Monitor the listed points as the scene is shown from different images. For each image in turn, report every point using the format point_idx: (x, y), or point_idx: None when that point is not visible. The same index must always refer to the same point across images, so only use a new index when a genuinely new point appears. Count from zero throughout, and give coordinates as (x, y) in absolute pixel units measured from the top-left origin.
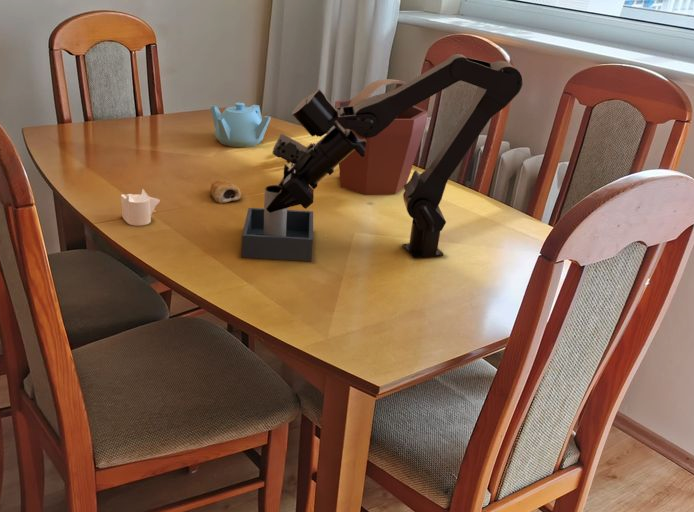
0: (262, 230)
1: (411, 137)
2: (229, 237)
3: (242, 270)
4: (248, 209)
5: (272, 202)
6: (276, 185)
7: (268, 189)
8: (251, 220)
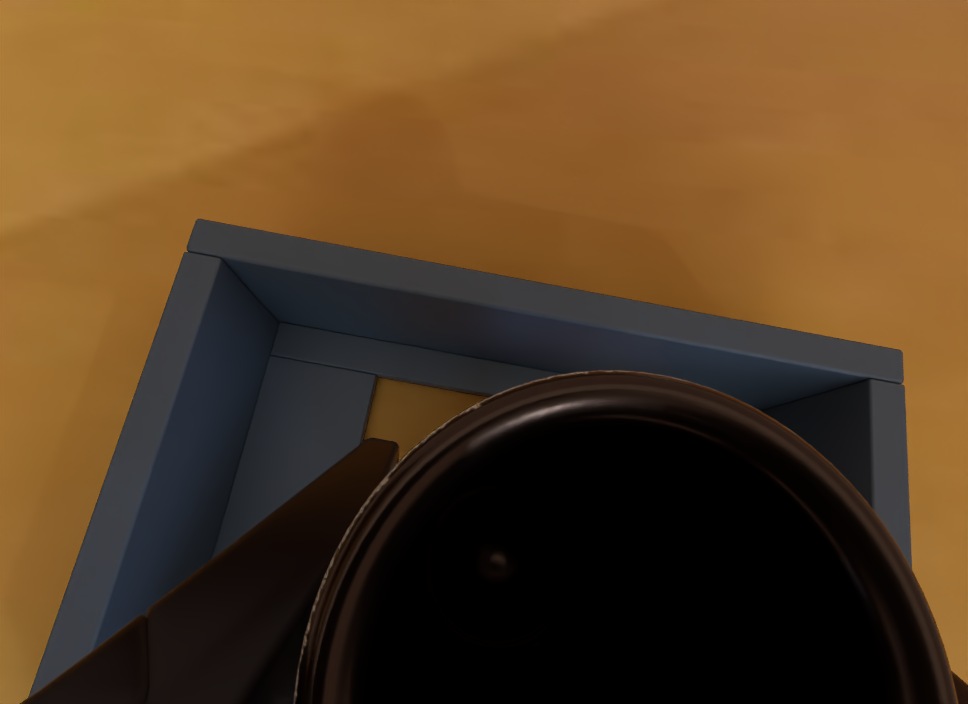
0: None
1: None
2: (610, 255)
3: (56, 279)
4: (853, 344)
5: (257, 526)
6: None
7: (745, 488)
8: (782, 393)
